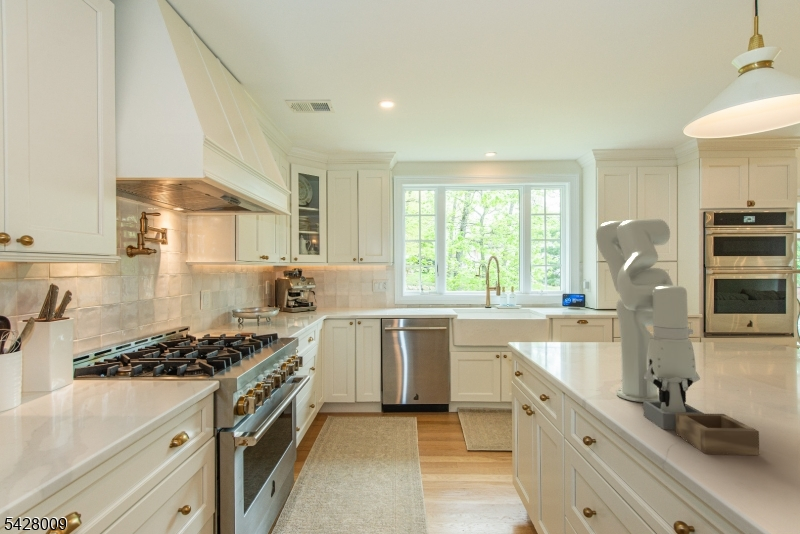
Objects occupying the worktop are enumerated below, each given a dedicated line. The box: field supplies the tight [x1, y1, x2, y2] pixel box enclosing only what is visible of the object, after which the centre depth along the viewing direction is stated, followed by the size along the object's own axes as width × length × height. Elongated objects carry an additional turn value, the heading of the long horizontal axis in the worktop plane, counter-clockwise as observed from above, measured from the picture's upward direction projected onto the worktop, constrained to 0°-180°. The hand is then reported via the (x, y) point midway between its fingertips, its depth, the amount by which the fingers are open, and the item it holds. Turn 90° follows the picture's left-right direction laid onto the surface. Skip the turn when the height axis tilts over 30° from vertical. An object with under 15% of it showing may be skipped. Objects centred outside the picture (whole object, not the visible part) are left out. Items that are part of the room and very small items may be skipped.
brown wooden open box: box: [675, 413, 761, 456], centre depth 93 cm, size 11×11×5 cm
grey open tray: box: [642, 401, 705, 430], centre depth 106 cm, size 10×10×4 cm
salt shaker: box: [660, 377, 686, 412], centre depth 106 cm, size 6×6×13 cm
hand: (672, 404), depth 106 cm, fingers closed on salt shaker, 3 cm apart
